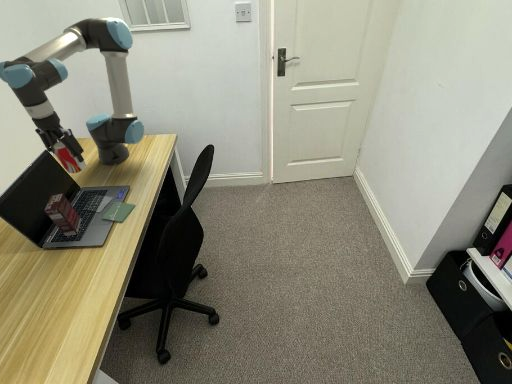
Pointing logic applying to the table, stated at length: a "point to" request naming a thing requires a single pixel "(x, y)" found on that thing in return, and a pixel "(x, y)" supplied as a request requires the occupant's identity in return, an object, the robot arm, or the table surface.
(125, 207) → the coaster
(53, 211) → the supplement box
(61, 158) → the soda can
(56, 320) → the table surface
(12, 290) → the table surface
